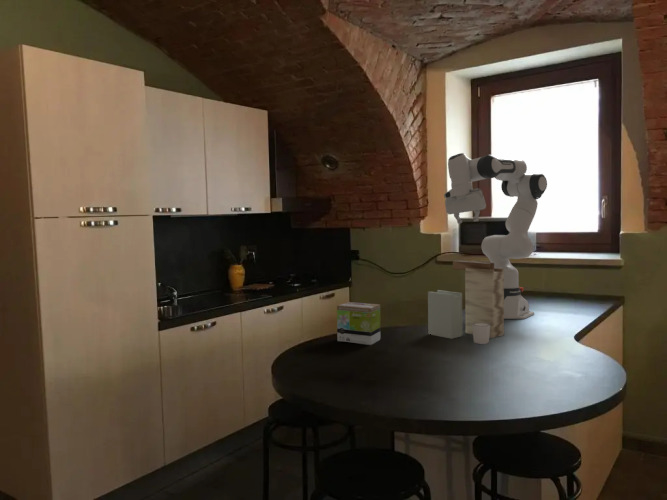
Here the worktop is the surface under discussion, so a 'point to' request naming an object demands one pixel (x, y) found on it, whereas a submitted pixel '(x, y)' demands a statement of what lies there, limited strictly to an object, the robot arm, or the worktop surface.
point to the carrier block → (445, 314)
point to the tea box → (358, 323)
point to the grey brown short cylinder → (481, 333)
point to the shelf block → (485, 299)
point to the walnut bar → (472, 265)
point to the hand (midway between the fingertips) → (468, 222)
